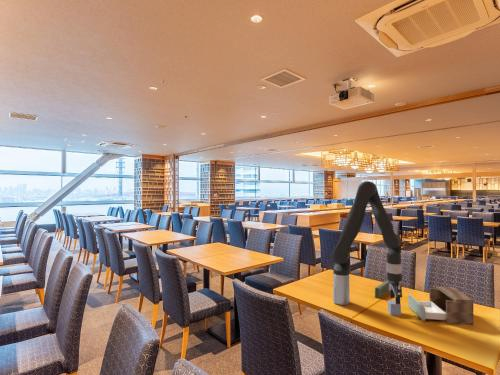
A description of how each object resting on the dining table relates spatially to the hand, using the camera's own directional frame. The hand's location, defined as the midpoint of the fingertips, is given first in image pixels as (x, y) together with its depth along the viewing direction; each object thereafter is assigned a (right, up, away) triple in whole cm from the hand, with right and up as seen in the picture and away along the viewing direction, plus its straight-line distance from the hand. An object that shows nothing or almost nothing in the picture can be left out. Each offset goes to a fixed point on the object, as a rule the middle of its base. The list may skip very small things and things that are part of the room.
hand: (395, 300), depth 158 cm
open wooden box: (+27, -7, -4) cm, 28 cm away
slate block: (0, -7, 0) cm, 7 cm away
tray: (+16, -6, -2) cm, 17 cm away
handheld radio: (+8, -7, +31) cm, 33 cm away
